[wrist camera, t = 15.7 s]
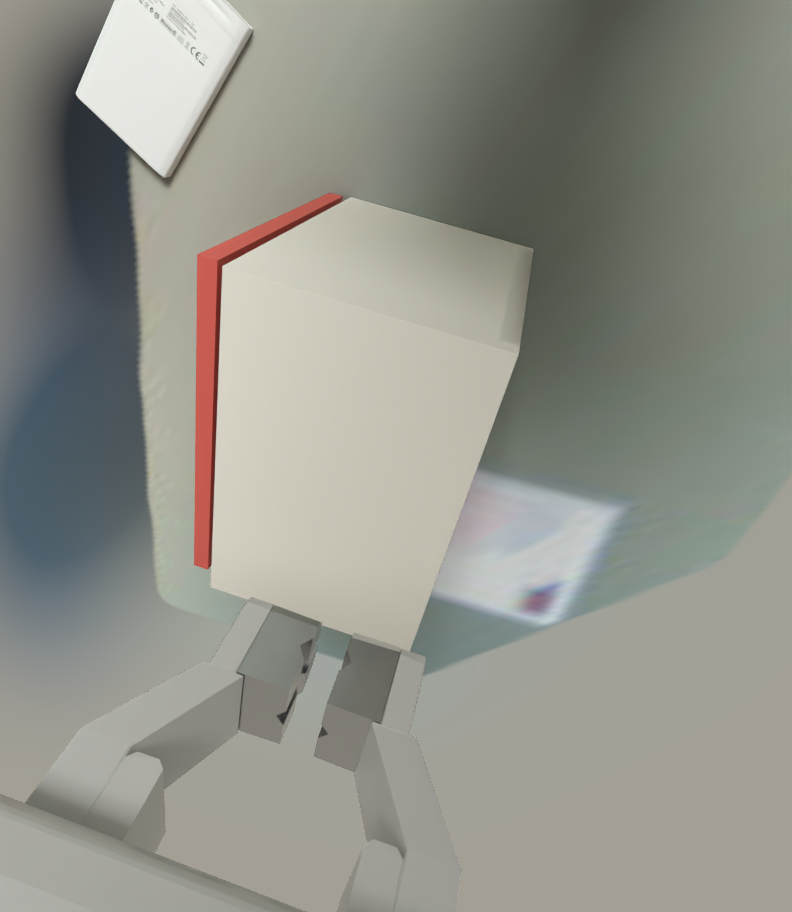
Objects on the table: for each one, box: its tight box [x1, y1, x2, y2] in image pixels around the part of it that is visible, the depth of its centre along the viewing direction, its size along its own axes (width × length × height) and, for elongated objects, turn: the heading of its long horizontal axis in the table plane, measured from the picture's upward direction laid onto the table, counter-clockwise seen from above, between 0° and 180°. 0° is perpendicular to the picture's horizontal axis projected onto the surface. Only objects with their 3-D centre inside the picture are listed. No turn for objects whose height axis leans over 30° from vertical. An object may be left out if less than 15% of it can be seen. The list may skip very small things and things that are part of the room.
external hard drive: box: [76, 0, 253, 178], centre depth 41 cm, size 2×8×12 cm
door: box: [194, 193, 343, 569], centre depth 41 cm, size 21×3×19 cm, turn 167°
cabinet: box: [211, 197, 534, 651], centre depth 40 cm, size 22×14×20 cm, turn 167°
